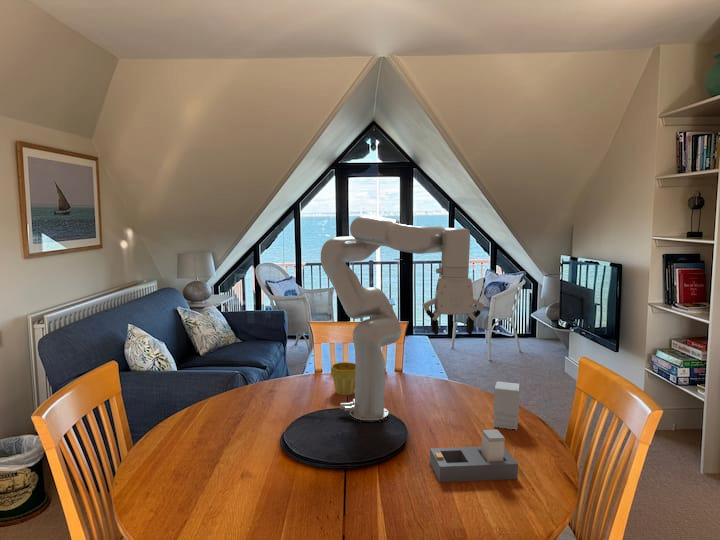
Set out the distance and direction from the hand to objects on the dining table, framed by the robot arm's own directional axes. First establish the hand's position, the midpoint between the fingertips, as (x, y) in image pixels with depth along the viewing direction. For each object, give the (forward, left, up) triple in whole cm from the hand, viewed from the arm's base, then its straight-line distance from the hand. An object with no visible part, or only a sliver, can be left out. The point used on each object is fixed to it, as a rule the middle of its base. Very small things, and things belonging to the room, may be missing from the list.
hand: (452, 333), depth 148 cm
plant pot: (-26, +44, -32) cm, 61 cm away
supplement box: (+22, +12, -32) cm, 41 cm away
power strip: (+2, -16, -32) cm, 36 cm away
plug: (+7, -16, -32) cm, 37 cm away
